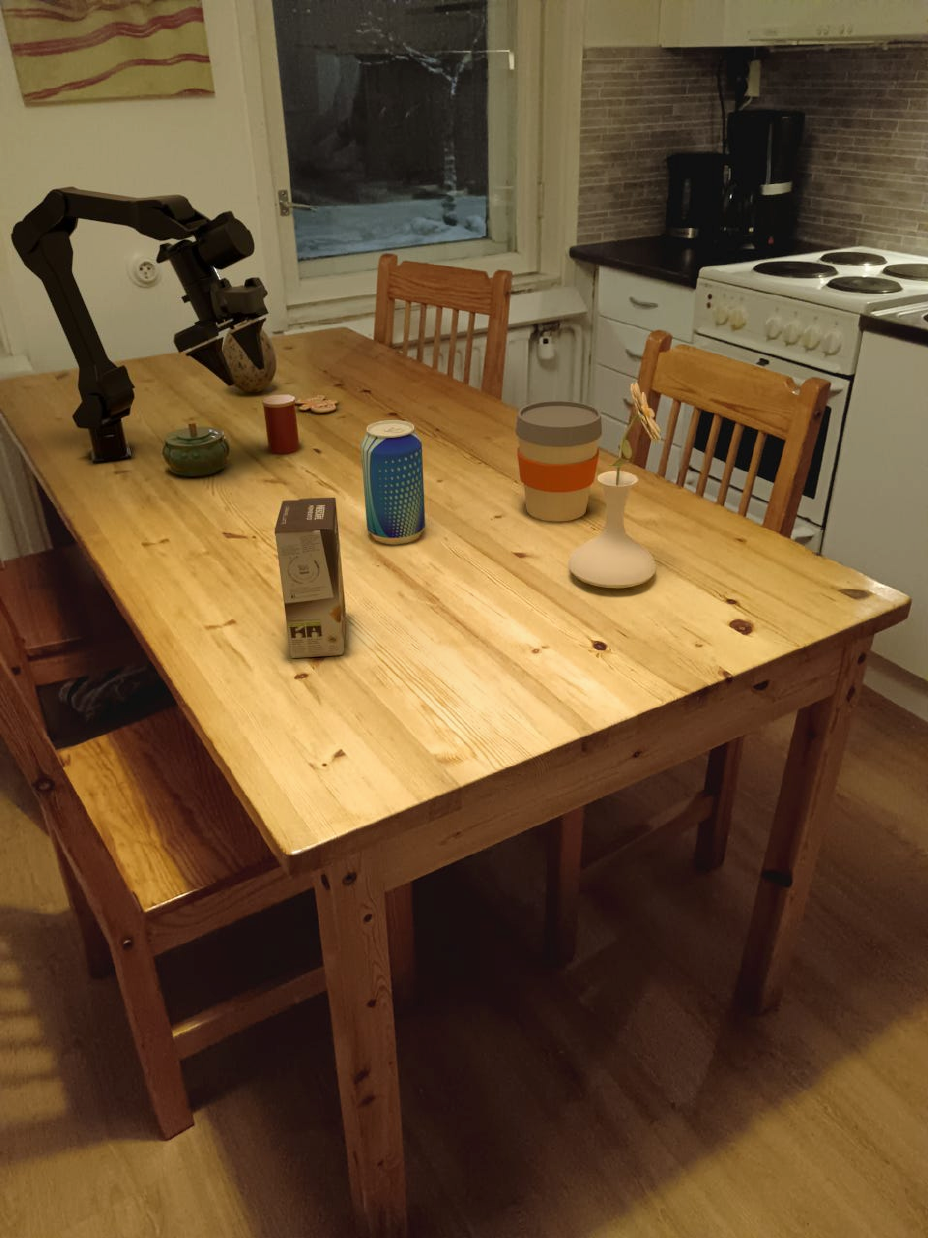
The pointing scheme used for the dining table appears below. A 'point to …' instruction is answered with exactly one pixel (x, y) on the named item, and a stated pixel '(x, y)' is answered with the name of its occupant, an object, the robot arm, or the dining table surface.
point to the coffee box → (311, 576)
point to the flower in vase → (617, 522)
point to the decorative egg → (250, 364)
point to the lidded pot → (196, 451)
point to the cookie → (317, 404)
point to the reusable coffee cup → (558, 457)
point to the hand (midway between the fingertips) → (247, 376)
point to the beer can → (393, 481)
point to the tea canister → (281, 424)
